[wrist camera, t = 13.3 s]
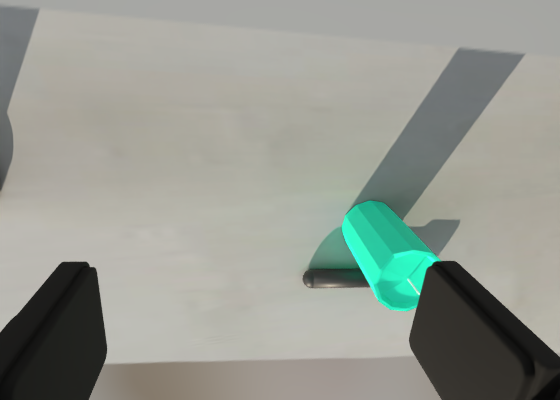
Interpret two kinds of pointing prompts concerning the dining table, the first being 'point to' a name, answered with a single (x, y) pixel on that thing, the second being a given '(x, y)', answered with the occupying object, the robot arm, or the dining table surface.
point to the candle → (387, 254)
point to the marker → (335, 278)
